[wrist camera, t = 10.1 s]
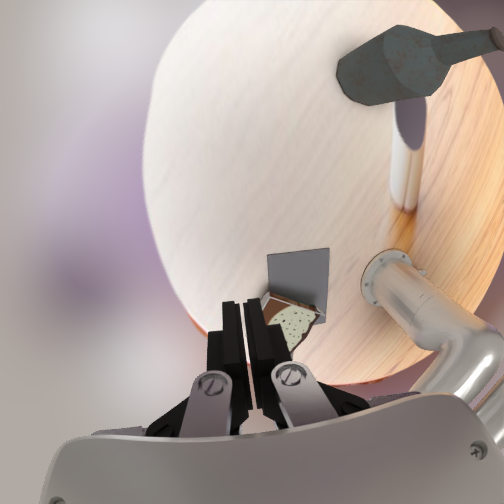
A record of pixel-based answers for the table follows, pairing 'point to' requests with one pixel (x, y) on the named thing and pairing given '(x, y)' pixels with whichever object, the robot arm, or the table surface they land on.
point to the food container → (290, 317)
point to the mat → (301, 277)
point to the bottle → (409, 62)
